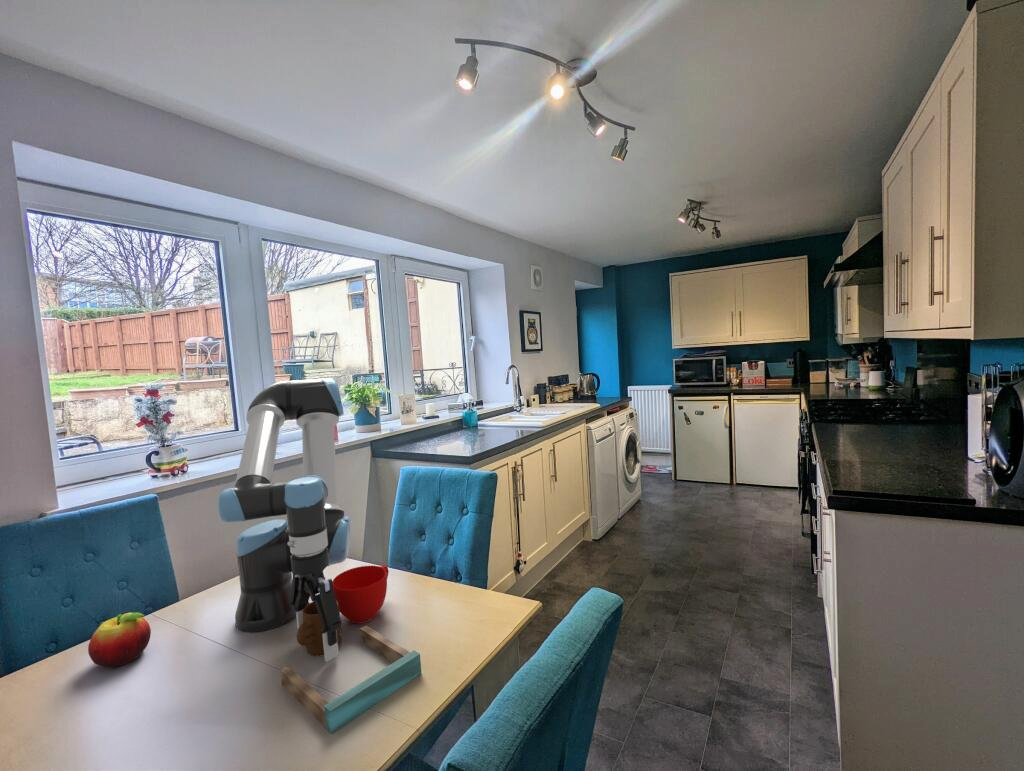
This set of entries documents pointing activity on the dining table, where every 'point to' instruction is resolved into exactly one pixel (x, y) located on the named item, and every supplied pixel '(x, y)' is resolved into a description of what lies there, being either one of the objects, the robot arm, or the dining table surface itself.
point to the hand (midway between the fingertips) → (318, 647)
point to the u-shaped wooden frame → (362, 694)
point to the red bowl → (361, 592)
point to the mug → (313, 631)
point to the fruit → (119, 640)
